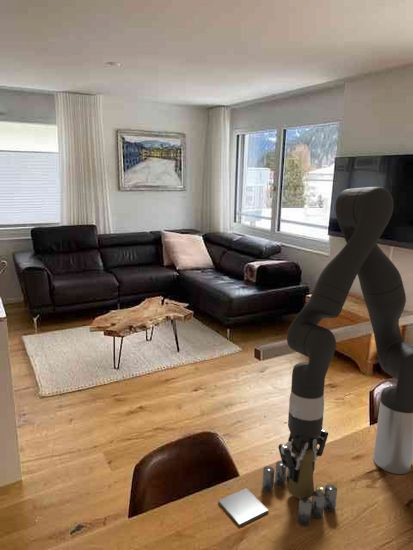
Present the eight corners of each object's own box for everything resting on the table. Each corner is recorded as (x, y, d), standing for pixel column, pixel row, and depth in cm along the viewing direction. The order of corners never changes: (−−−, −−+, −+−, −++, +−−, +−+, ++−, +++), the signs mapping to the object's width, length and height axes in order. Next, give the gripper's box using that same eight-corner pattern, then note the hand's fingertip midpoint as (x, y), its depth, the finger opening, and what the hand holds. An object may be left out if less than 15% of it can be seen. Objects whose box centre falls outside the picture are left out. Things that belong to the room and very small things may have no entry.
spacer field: (292, 471, 106) (293, 454, 105) (337, 509, 94) (339, 490, 93) (260, 486, 100) (261, 468, 99) (303, 528, 88) (305, 508, 87)
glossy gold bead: (318, 486, 101) (318, 481, 101) (330, 491, 99) (330, 487, 99) (313, 493, 99) (313, 488, 99) (325, 498, 97) (325, 494, 97)
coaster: (246, 490, 99) (246, 488, 99) (268, 512, 92) (268, 510, 92) (218, 502, 95) (218, 500, 94) (239, 526, 88) (239, 524, 88)
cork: (314, 500, 93) (318, 457, 91) (287, 496, 94) (290, 453, 92) (313, 482, 99) (316, 441, 96) (287, 478, 100) (290, 437, 98)
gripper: (315, 394, 99) (311, 458, 103) (270, 411, 91) (267, 478, 95) (341, 408, 93) (335, 475, 96) (294, 427, 85) (290, 499, 89)
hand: (301, 476), depth 96 cm, fingers closed on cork, 4 cm apart
